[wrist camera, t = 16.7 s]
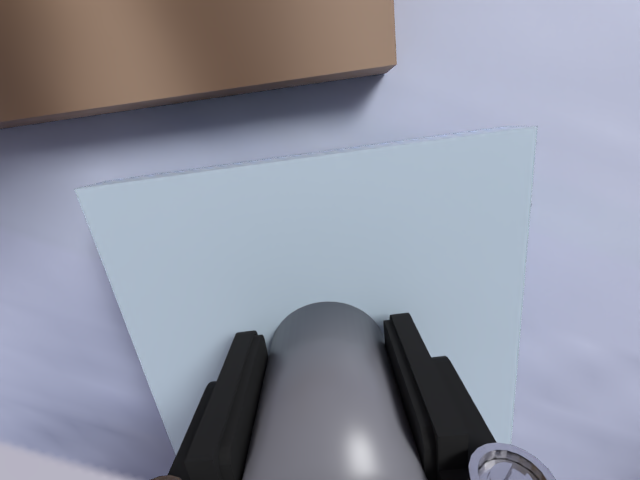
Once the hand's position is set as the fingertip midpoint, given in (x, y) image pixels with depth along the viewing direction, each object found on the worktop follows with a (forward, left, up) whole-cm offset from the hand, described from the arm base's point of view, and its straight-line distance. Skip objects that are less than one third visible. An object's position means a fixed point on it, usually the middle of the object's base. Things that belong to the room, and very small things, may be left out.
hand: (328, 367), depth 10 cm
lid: (0, 0, -2) cm, 2 cm away
